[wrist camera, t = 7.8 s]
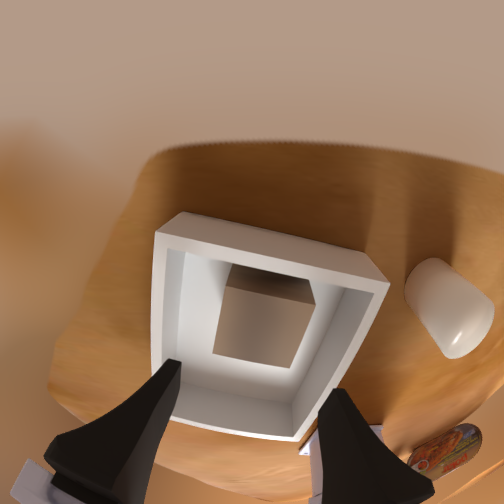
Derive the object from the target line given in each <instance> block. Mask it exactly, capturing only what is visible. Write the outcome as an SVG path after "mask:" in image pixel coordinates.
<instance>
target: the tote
mask: <svg viewBox="0 0 504 504" xmlns="http://www.w3.org/2000/svg"><path fill="white" fill-rule="evenodd" d="M232 263H235V264H239V265H244V266H248V267H253V268H257V269H262V270H267V271H271V272H276V273H280V274H285V275H290V276H294V277H299V278H304V279H308V280H309V282H310V285H311V289H312V292H313V296H314V299H315V303H316V307H315V309H314V312H313V315H312V317H311V320H310V322H309V324H308V327H307V329H306V332H305V334H304V337H303V339H302V341H301V344H300V346H299V348H298V351H297V353H296V355H295V358H294V360H293V362H292V364H291V367H290V369H289V368H283V367H277V366H271V365H265V364H260V363H254V362H249V361H244V360H239V359H234V358H230V357H225V356H221V355H217V354H212V352H213V347H214V341H215V336H216V331H217V326H218V321H219V316H220V310H221V305H222V300H223V295H224V290H225V286H226V282H227V279H228V276H229V273H230V270H231V267H232ZM390 284H391V283H390V282H389V281H388V280H387V278H386V277H385V276H384V275H383V274H382V272H381V271H380V270H379V269H378V268H377V266H376V265H375V264H374V263H373V262H372V260H371V259H370V258H369V257H368V256H367V255H366V253H363V252H359V251H355V250H351V249H347V248H343V247H339V246H335V245H331V244H327V243H323V242H319V241H315V240H311V239H306V238H302V237H298V236H294V235H289V234H285V233H281V232H276V231H272V230H268V229H263V228H259V227H254V226H250V225H245V224H241V223H236V222H232V221H227V220H222V219H218V218H213V217H208V216H204V215H199V214H194V213H189V212H184V211H182V212H181V213H179V214H178V215H176V216H175V217H174V218H172V219H171V220H170V221H168V222H167V223H166V224H164V225H163V226H162V227H160V228H159V229H158V230H156V231H155V241H154V254H153V269H152V290H151V365H152V376H153V375H154V374H155V373H156V372H157V370H158V369H159V368H160V367H161V366H162V365H163V363H164V362H165V361H166V359H168V358H170V359H174V360H177V361H181V362H182V366H181V381H180V390H179V394H178V397H177V401H176V404H175V407H174V410H173V412H172V415H171V417H170V420H174V421H177V422H181V423H185V424H189V425H193V426H197V427H201V428H205V429H210V430H215V431H220V432H225V433H230V434H236V435H242V436H249V437H256V438H264V439H272V440H283V441H296V442H299V440H300V439H301V438H302V436H303V435H304V434H305V432H306V431H307V430H308V428H309V427H310V426H311V424H312V423H313V421H314V420H315V419H316V417H317V416H318V411H319V409H320V408H321V406H322V405H323V403H324V402H325V400H326V399H327V397H328V396H329V394H330V393H331V391H332V389H333V388H336V387H337V386H338V384H339V382H340V381H341V379H342V377H343V376H344V374H345V372H346V371H347V369H348V367H349V366H350V364H351V362H352V360H353V359H354V357H355V355H356V353H357V351H358V350H359V348H360V346H361V344H362V342H363V340H364V338H365V337H366V335H367V333H368V331H369V329H370V327H371V325H372V323H373V321H374V319H375V317H376V315H377V313H378V310H379V308H380V306H381V304H382V302H383V300H384V297H385V295H386V293H387V291H388V288H389V286H390Z"/></svg>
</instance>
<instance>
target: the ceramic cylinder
mask: <svg viewBox="0 0 504 504" xmlns="http://www.w3.org/2000/svg"><path fill="white" fill-rule="evenodd" d="M404 297H405V300H406V302H407V304H408V305H409V306H410V308H411V309H412V310H413V312H414V313H415V314H416V316H417V317H418V318H419V320H420V321H421V322H422V324H423V325H424V327H425V328H426V329H427V331H428V332H429V334H430V335H431V336H432V338H433V339H434V341H435V342H436V343H437V345H438V346H439V348H440V349H441V351H442V352H443V354H444V355H445V356H446V357H447V358H450V359H455V358H459V357H462V356H464V355H466V354H468V353H469V352H470V351H472V350H473V349H474V348H475V347H476V346H477V345H478V344H479V343H480V342H481V341H482V340H483V338H484V337H485V336H486V334H487V332H488V331H489V329H490V327H491V324H492V322H493V318H494V304H493V302H492V301H491V300H490V299H489V298H488V297H487V296H486V295H484V294H483V293H482V292H481V291H480V290H479V289H478V288H476V287H475V286H474V285H473V284H472V283H470V282H469V281H468V280H467V279H466V278H464V277H463V276H462V275H461V274H460V273H458V272H457V271H456V270H455V269H453V268H452V267H451V266H450V265H448V264H447V263H446V262H444V261H443V260H442V259H439V258H429V259H426V260H424V261H422V262H420V263H419V264H418V265H417V266H416V267H415V268H414V269H413V270H412V271H411V273H410V275H409V276H408V278H407V281H406V283H405V288H404Z"/></svg>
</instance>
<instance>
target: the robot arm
mask: <svg viewBox="0 0 504 504" xmlns="http://www.w3.org/2000/svg"><path fill="white" fill-rule="evenodd" d="M181 366H182V362H181V361H177V360H174V359H170V358H168V359H166V361H165V362H164V363H163V365H162V366H161V367H160V368H159V369H158V370H157V372H156V373H155V374H154V375H153V376H152V377H151V378H150V379H149V380H148V381H147V382H146V383H145V384H144V385H143V386H142V387H141V388H140V389H139V390H137V391H136V392H135V393H134V394H133V395H132V396H130V397H129V398H128V399H127V400H125V401H124V402H123V403H122V404H120V405H119V406H117V407H116V408H114V409H113V410H111V411H110V412H108V413H107V414H105V415H103V416H102V417H100V418H98V419H96V420H94V421H92V422H90V423H88V424H86V425H84V426H82V427H79V428H77V429H75V430H72V431H69V432H66V433H63V434H60V435H57V436H56V437H55V438H54V440H53V441H52V442H51V443H50V445H49V447H48V449H47V450H46V452H45V454H44V459H45V460H46V462H47V463H48V464H50V466H51V467H52V468H53V469H54V470H55V471H56V473H55V475H53V474H51V473H50V472H49V471H47V470H46V469H44V468H43V467H41V466H39V465H38V464H37V463H35V462H34V461H32V460H31V459H27V461H26V463H25V465H24V467H23V468H22V471H21V472H20V474H19V476H18V478H17V480H16V482H15V484H14V486H13V488H12V490H11V492H10V495H11V496H12V497H14V498H15V499H16V500H17V501H19V502H20V503H21V504H144V499H145V495H146V490H147V486H148V482H149V478H150V474H151V470H152V466H153V462H154V459H155V455H156V452H157V449H158V446H159V443H160V440H161V438H162V436H163V433H164V431H165V429H166V426H167V424H168V422H169V419H170V417H171V415H172V412H173V410H174V407H175V404H176V401H177V397H178V394H179V390H180V381H181ZM383 428H384V427H383V425H368V423H367V422H366V421H365V419H364V418H363V416H362V415H361V413H360V412H359V410H358V409H357V407H356V406H355V404H354V403H353V401H352V400H351V398H350V397H349V395H348V393H347V392H346V390H345V389H339V388H333V389H332V391H331V393H330V394H329V396H328V397H327V399H326V400H325V402H324V403H323V405H322V406H321V408H320V409H319V411H318V428H317V430H316V431H315V432H314V433H313V435H312V436H311V437H310V438H309V440H308V441H307V442H306V443H305V445H304V446H303V447H302V448H301V449H300V451H299V454H300V455H310V465H311V480H312V498H309V504H420V503H422V502H423V501H425V500H427V499H429V498H430V497H431V496H433V495H434V493H435V490H434V487H433V483H432V480H431V479H429V478H427V477H426V476H424V475H422V474H420V473H418V472H417V471H415V470H414V469H412V468H411V467H409V466H408V465H407V464H405V463H404V462H403V461H402V460H400V459H399V458H398V457H397V456H396V455H395V454H394V453H393V452H391V451H390V450H389V449H388V447H387V446H386V445H385V444H384V441H383V437H382V434H381V430H382V429H383Z"/></svg>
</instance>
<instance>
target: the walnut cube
mask: <svg viewBox="0 0 504 504" xmlns="http://www.w3.org/2000/svg"><path fill="white" fill-rule="evenodd" d="M315 307H316V303H315V299H314V296H313V292H312V289H311V285H310V282H309V280H308V279H304V278H299V277H294V276H290V275H285V274H280V273H276V272H271V271H267V270H262V269H257V268H253V267H248V266H244V265H239V264H235V263H232V267H231V270H230V273H229V276H228V279H227V282H226V286H225V290H224V295H223V300H222V305H221V310H220V316H219V321H218V326H217V331H216V336H215V341H214V347H213V352H212V354H217V355H221V356H225V357H230V358H234V359H239V360H244V361H249V362H254V363H260V364H265V365H271V366H277V367H283V368H289V369H290V367H291V364H292V362H293V360H294V358H295V355H296V353H297V351H298V348H299V346H300V344H301V341H302V339H303V337H304V334H305V332H306V329H307V327H308V324H309V322H310V320H311V317H312V315H313V312H314V309H315Z"/></svg>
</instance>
